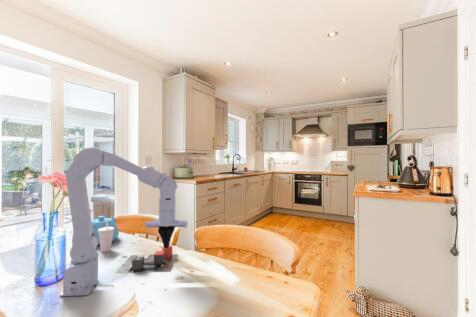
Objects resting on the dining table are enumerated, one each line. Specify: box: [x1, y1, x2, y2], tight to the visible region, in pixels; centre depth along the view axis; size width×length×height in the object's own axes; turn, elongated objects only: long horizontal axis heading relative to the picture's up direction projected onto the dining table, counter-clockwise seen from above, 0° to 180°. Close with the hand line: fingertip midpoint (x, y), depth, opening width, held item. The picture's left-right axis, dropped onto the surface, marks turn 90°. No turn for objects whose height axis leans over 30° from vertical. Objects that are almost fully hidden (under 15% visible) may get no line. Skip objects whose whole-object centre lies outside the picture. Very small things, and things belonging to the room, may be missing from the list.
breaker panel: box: [114, 253, 179, 274], centre depth 87 cm, size 15×19×2 cm
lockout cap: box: [161, 244, 173, 259], centre depth 93 cm, size 4×4×4 cm
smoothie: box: [98, 219, 114, 253], centre depth 102 cm, size 6×6×14 cm
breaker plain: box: [132, 257, 144, 270], centre depth 82 cm, size 3×3×3 cm
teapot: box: [91, 215, 120, 246], centre depth 113 cm, size 20×20×13 cm
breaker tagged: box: [153, 250, 165, 264], centre depth 87 cm, size 3×3×4 cm
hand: (166, 247), depth 83 cm, fingers closed
